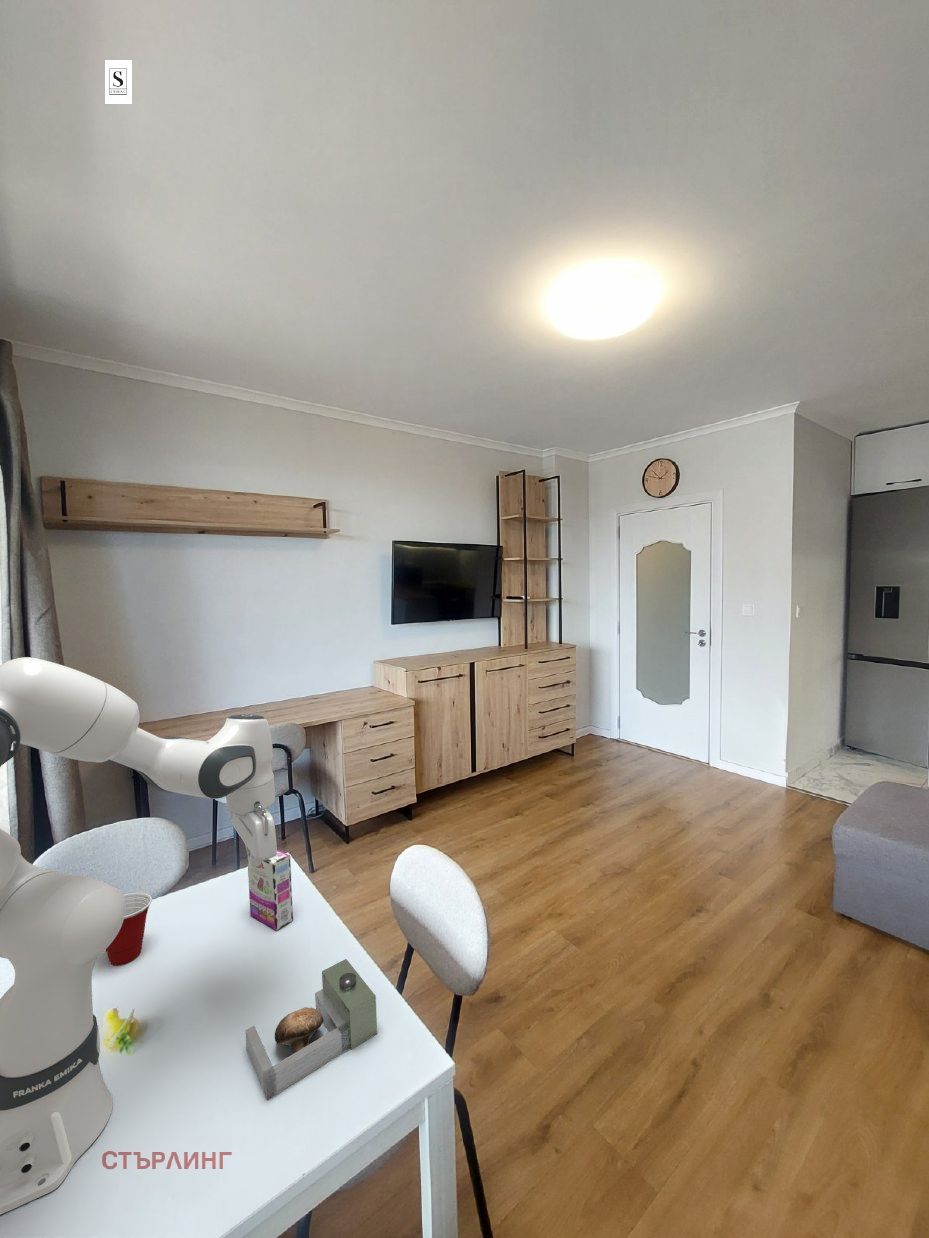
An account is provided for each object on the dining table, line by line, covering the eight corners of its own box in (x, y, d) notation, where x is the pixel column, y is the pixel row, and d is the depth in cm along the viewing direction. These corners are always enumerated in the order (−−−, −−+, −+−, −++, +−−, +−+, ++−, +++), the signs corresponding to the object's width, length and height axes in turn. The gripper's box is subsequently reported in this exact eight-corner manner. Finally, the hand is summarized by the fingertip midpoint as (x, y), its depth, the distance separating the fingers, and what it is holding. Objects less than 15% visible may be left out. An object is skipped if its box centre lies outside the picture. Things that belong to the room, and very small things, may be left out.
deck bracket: (268, 1102, 78) (265, 1054, 78) (246, 1049, 87) (244, 1006, 87) (377, 1033, 90) (375, 991, 89) (347, 992, 99) (346, 954, 99)
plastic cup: (163, 952, 112) (159, 900, 112) (106, 982, 104) (102, 926, 103) (145, 933, 119) (141, 883, 119) (90, 959, 111) (86, 906, 110)
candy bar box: (294, 920, 122) (291, 854, 121) (276, 932, 118) (273, 864, 117) (267, 905, 128) (263, 842, 128) (249, 915, 124) (245, 851, 124)
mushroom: (311, 1052, 83) (304, 1007, 86) (268, 1070, 83) (262, 1025, 86) (334, 1037, 90) (326, 996, 93) (293, 1054, 90) (287, 1013, 93)
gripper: (283, 807, 93) (287, 880, 93) (254, 777, 109) (257, 839, 110) (247, 817, 89) (251, 893, 90) (222, 784, 105) (225, 849, 106)
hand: (254, 863), depth 100 cm, fingers closed
